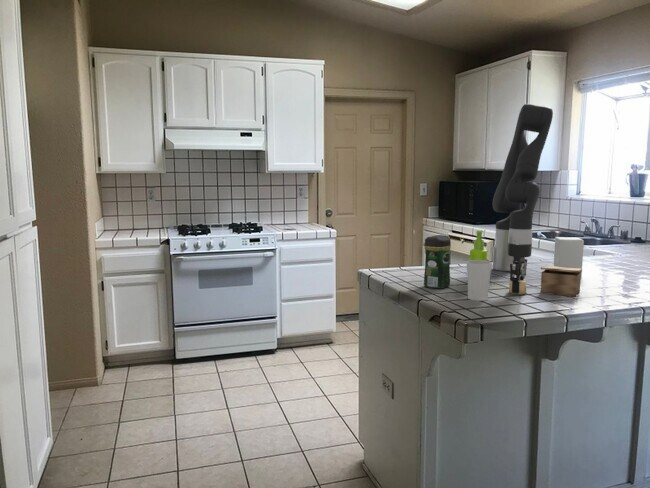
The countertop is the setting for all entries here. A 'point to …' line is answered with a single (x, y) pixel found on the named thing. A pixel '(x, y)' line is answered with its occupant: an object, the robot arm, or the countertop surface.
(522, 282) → the domed cream knob
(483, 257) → the soap dispenser
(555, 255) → the supplement box
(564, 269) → the lid
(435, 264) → the coffee jar
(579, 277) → the box
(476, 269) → the cup
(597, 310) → the countertop surface
